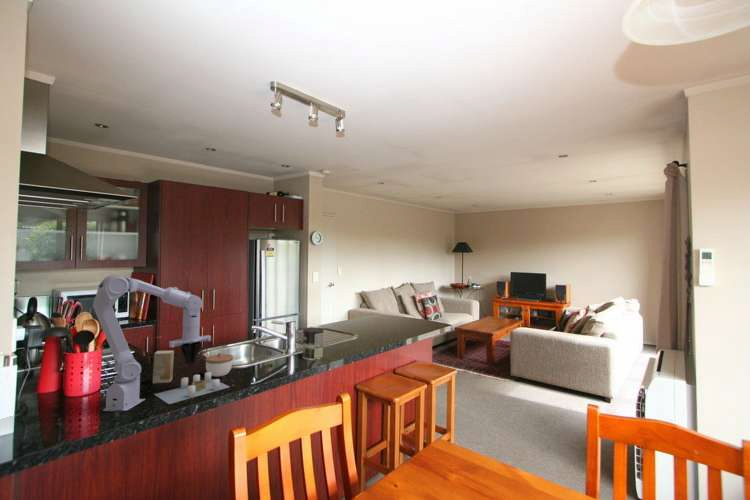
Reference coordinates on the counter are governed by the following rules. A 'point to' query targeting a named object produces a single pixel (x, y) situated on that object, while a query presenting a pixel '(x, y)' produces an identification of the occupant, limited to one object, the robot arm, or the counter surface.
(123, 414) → the counter surface
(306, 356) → the coffee can
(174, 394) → the board
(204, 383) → the nut
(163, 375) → the skincare box
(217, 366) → the lidded jar
